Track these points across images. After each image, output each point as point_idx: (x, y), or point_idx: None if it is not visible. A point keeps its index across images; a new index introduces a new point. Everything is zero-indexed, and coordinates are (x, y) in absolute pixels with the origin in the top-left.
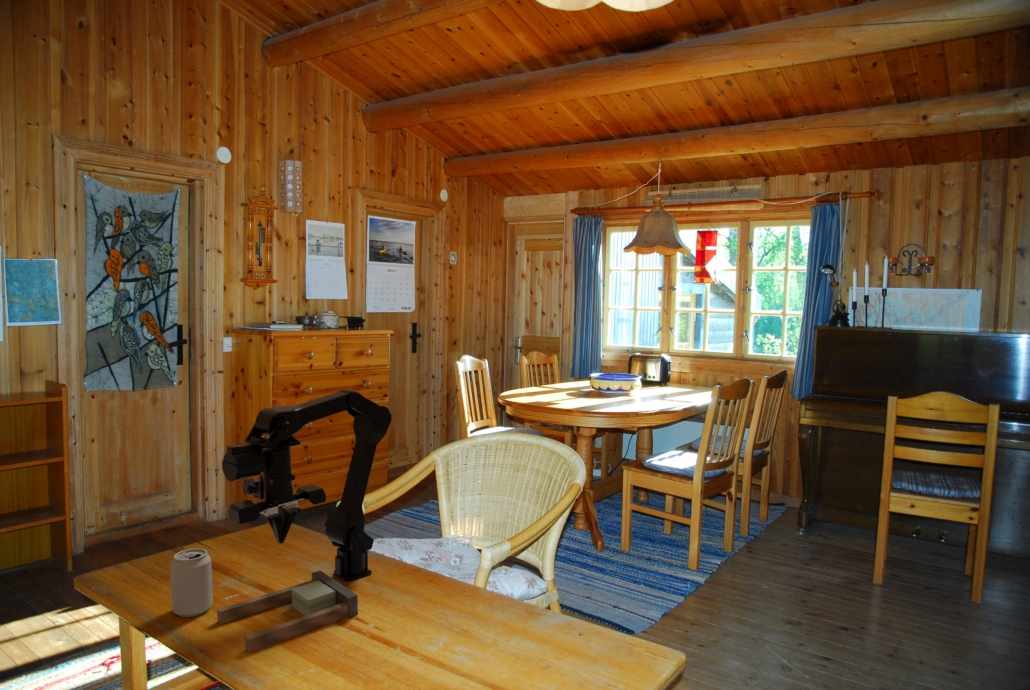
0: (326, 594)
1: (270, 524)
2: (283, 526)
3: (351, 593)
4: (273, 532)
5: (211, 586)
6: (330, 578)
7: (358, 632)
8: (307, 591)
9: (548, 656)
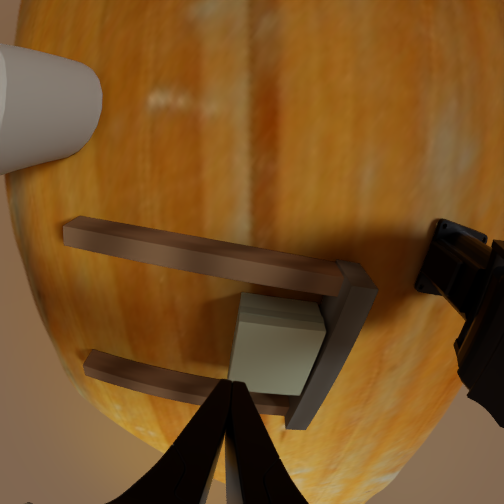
0: (275, 393)
1: (155, 475)
2: (229, 494)
3: (304, 422)
4: (188, 426)
5: (61, 137)
6: (347, 350)
7: None
8: (258, 359)
9: (324, 498)
